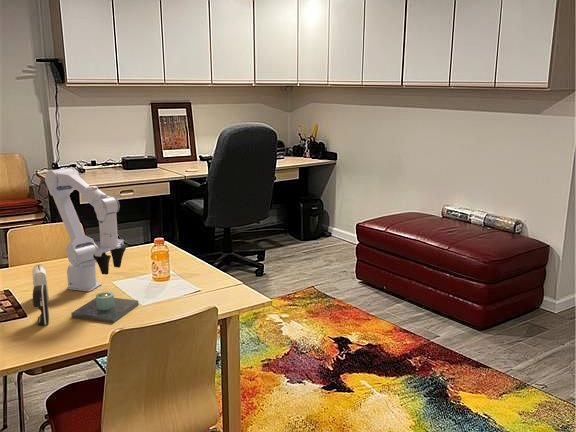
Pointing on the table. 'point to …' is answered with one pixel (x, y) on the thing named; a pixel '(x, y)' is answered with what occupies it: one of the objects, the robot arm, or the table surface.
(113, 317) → the hub plate
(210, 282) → the table surface
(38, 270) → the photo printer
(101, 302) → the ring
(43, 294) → the battery charger
